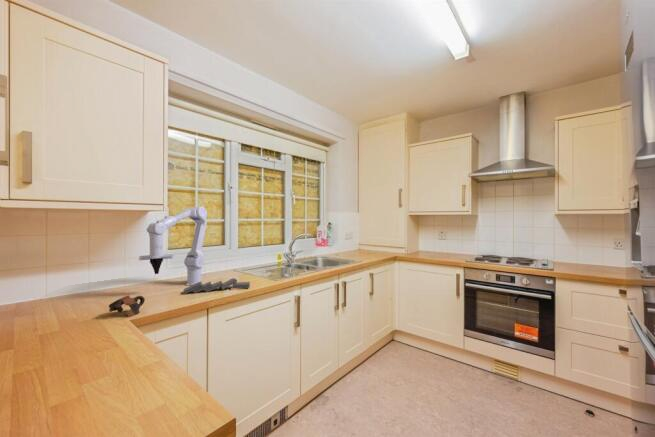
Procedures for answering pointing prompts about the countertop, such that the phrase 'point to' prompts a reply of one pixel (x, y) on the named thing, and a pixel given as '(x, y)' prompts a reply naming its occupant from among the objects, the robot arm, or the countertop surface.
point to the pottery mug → (127, 301)
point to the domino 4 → (228, 283)
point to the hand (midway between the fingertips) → (156, 273)
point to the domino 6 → (241, 285)
